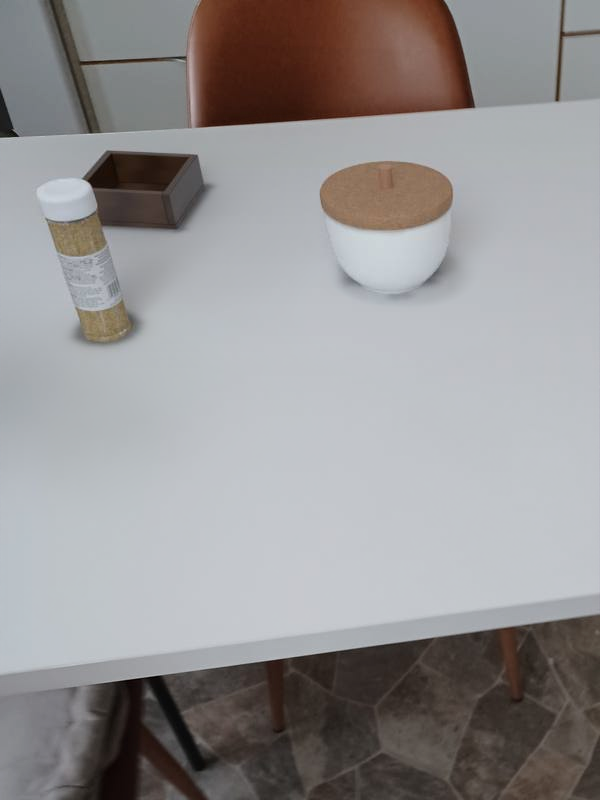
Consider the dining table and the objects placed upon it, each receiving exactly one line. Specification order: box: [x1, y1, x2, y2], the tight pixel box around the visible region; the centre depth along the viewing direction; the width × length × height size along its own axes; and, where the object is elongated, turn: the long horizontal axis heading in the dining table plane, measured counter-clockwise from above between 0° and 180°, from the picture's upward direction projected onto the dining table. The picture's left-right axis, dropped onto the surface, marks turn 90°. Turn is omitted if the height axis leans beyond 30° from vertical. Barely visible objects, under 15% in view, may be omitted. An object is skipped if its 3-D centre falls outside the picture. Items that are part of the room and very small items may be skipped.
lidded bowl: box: [319, 160, 454, 295], centre depth 93 cm, size 13×13×11 cm
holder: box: [81, 149, 205, 230], centre depth 106 cm, size 11×11×4 cm
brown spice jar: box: [35, 177, 133, 343], centre depth 85 cm, size 5×5×13 cm
